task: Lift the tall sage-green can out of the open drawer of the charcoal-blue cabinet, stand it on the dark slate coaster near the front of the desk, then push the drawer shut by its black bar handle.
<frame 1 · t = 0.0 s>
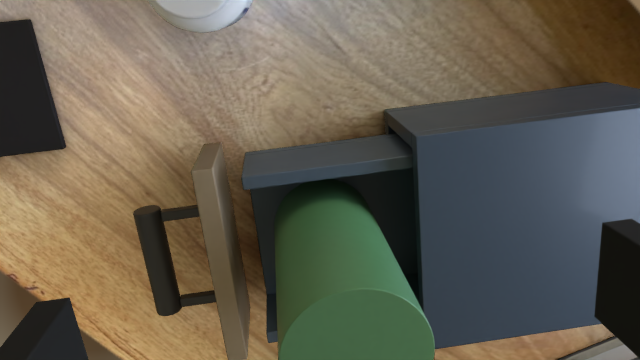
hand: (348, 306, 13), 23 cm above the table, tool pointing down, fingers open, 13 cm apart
cabinet: (495, 189, 37), on the table
can: (323, 224, 34), point 2 cm above the table, touching drawer
drawer: (295, 239, 32), point 4 cm above the table, slide at 11.0 cm, touching can
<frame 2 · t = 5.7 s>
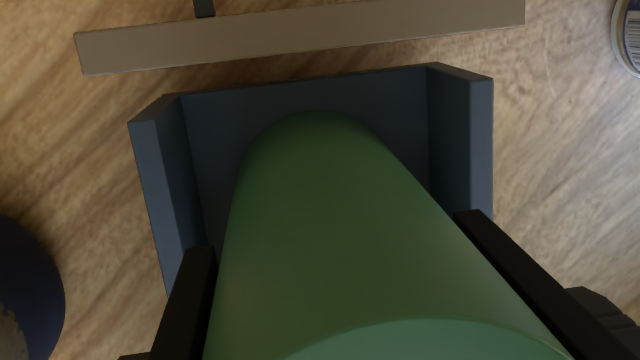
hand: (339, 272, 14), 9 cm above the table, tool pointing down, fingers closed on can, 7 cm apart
can: (317, 190, 21), point 2 cm above the table, touching drawer, gripper
drawer: (315, 156, 18), point 4 cm above the table, slide at 11.0 cm, touching can
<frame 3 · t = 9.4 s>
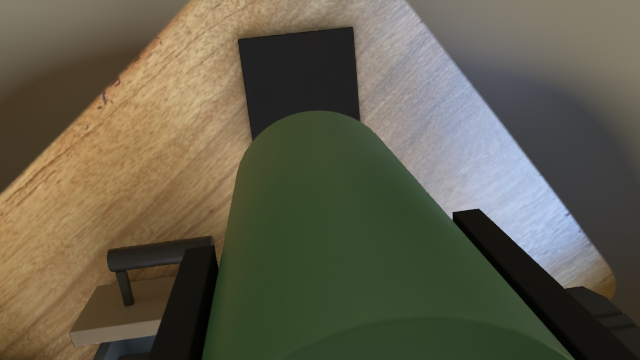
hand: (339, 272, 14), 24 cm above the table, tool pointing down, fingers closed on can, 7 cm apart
can: (316, 190, 21), point 17 cm above the table, touching gripper
drawer: (186, 354, 38), point 4 cm above the table, slide at 11.0 cm
coaster: (301, 90, 37), on the table
when the fingers open (7 cm above the table, at t = 13.5 s): can stays where it is, resting on coaster.
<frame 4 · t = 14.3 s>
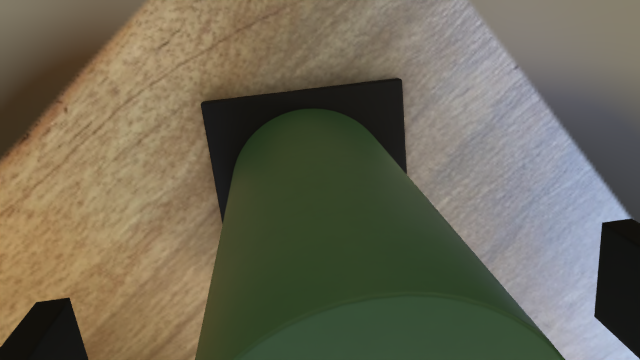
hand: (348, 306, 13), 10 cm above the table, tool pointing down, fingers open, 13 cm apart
can: (311, 186, 21), resting on coaster
coaster: (312, 182, 22), on the table
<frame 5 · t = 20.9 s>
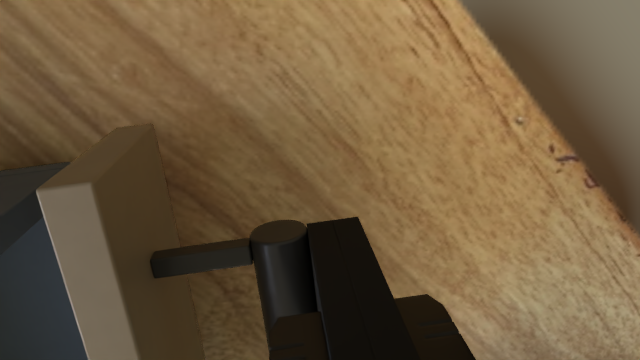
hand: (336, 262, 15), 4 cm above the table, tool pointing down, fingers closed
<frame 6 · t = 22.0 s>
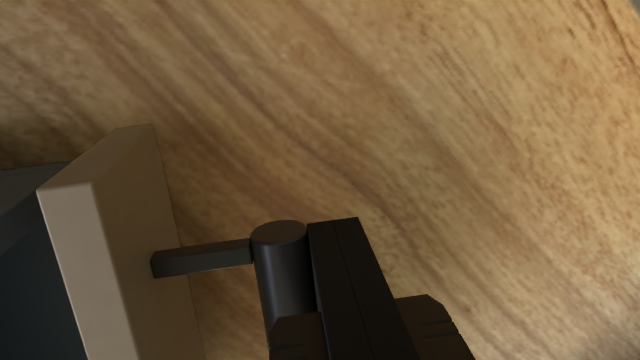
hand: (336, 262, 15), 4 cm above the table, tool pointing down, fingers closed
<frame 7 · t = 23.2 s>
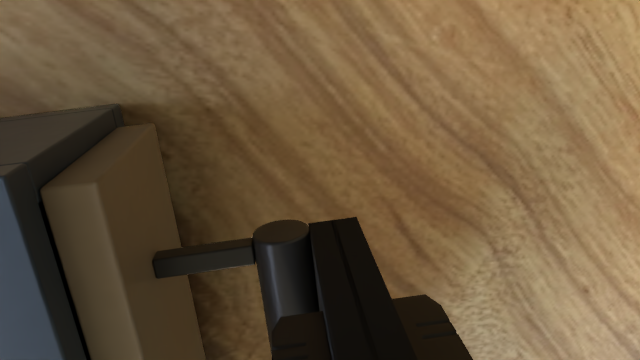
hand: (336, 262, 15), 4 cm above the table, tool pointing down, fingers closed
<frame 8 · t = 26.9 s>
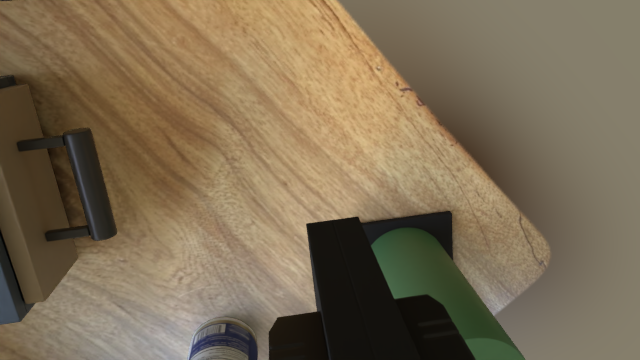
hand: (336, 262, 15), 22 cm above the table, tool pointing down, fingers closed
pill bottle: (225, 341, 41), on the table
can: (403, 265, 40), resting on coaster
coaster: (402, 263, 40), on the table
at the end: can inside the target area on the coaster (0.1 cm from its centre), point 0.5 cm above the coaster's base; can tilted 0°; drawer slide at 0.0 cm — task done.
